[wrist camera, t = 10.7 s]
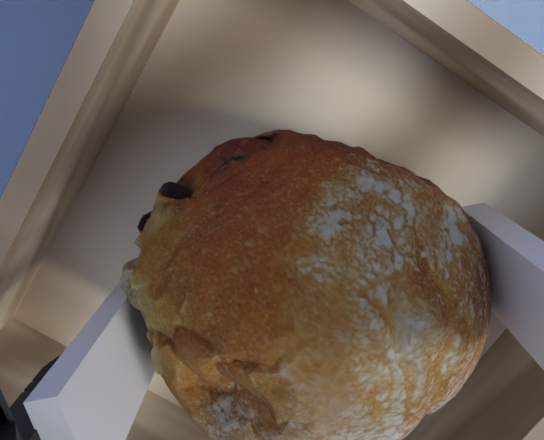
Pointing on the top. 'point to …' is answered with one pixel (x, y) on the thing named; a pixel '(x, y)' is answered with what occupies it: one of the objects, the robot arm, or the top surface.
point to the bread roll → (308, 292)
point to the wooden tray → (254, 121)
